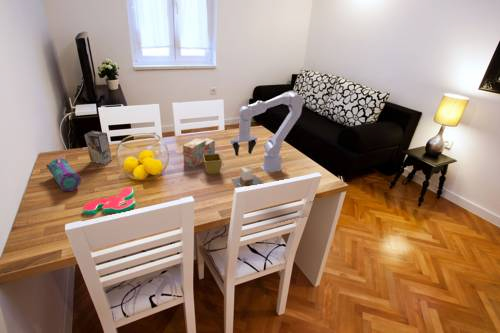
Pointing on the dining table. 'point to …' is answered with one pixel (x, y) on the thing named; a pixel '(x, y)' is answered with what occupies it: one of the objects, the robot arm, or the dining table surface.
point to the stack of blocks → (197, 151)
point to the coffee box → (98, 147)
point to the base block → (246, 182)
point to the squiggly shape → (112, 203)
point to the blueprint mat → (255, 178)
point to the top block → (246, 173)
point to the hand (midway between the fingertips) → (243, 154)
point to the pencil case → (64, 174)
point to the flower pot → (212, 163)
